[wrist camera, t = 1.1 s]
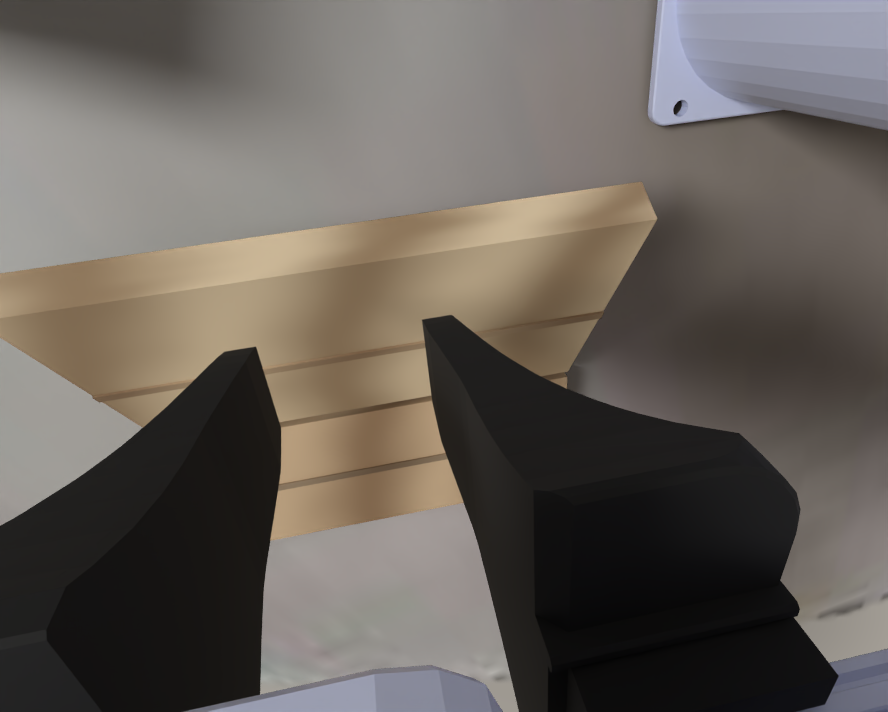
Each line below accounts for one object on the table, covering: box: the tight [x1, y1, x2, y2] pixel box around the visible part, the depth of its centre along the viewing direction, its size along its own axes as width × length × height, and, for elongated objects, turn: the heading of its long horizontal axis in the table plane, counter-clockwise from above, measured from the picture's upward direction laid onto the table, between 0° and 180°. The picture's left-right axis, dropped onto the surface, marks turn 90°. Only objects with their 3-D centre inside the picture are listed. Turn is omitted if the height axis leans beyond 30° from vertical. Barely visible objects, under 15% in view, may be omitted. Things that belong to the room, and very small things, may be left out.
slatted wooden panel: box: [0, 182, 657, 427], centre depth 18 cm, size 16×10×1 cm
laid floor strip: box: [270, 372, 567, 541], centre depth 25 cm, size 16×6×1 cm, turn 95°
